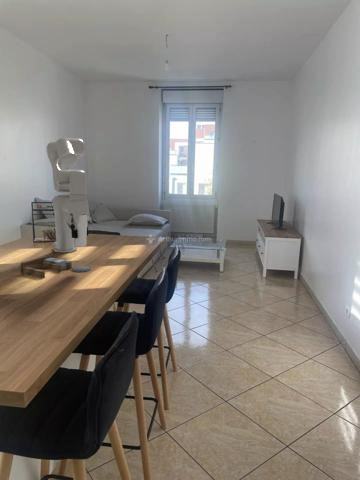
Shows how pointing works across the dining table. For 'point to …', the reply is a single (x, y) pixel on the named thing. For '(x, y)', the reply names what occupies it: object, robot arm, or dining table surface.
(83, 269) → the felt coaster
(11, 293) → the dining table surface
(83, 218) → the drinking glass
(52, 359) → the dining table surface
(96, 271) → the dining table surface
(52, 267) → the walnut cubby
